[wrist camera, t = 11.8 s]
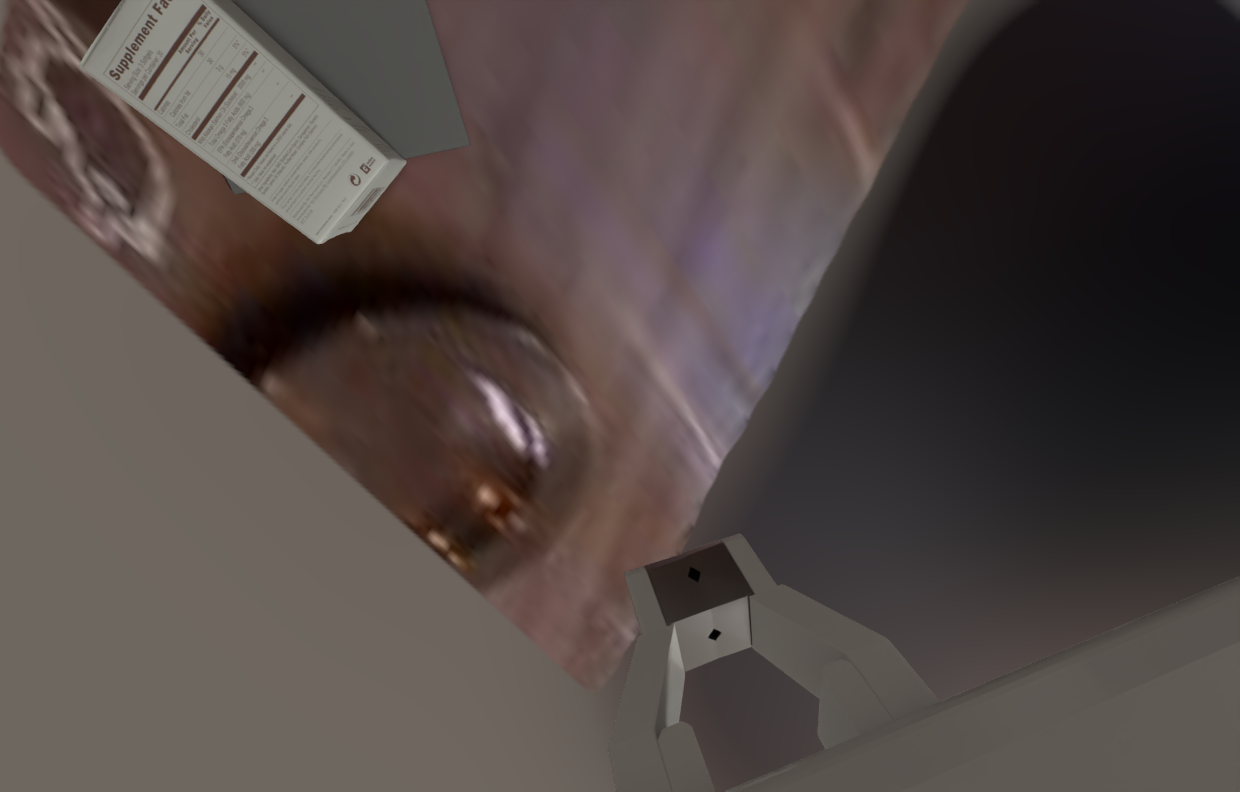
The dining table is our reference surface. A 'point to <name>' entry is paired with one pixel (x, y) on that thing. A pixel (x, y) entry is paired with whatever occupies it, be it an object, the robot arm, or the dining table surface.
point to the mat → (372, 65)
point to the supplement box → (245, 109)
